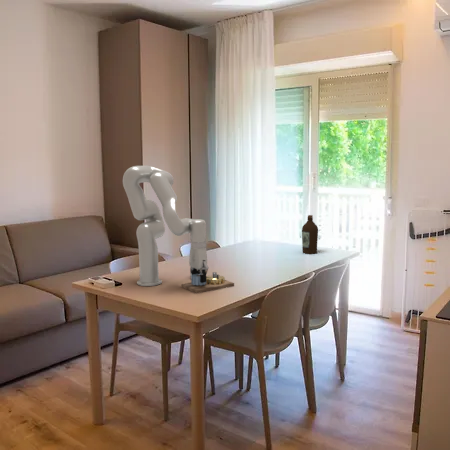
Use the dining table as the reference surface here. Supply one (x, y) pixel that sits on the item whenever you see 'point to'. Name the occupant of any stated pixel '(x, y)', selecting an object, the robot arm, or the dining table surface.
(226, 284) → the gear board
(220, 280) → the brass drive gear
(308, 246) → the olive oil
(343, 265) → the dining table surface
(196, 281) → the blue gear
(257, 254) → the dining table surface
